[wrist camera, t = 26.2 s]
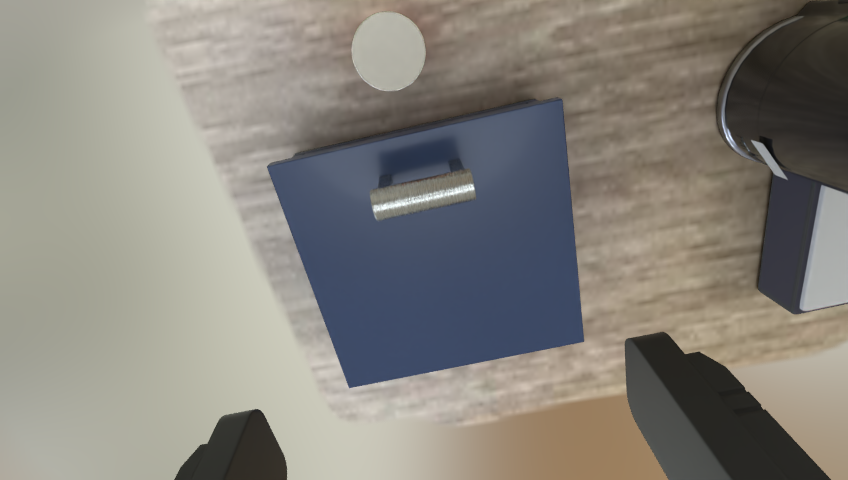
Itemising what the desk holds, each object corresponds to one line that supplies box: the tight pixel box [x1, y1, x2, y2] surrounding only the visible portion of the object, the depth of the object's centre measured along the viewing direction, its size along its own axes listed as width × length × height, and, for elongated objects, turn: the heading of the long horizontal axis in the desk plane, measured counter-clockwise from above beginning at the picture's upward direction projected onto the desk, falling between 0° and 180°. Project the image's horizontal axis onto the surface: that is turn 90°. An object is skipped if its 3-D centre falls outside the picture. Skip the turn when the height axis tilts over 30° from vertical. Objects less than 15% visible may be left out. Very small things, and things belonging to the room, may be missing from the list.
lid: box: [267, 97, 584, 388], centre depth 27 cm, size 16×17×5 cm
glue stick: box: [351, 11, 426, 91], centre depth 25 cm, size 4×4×8 cm
